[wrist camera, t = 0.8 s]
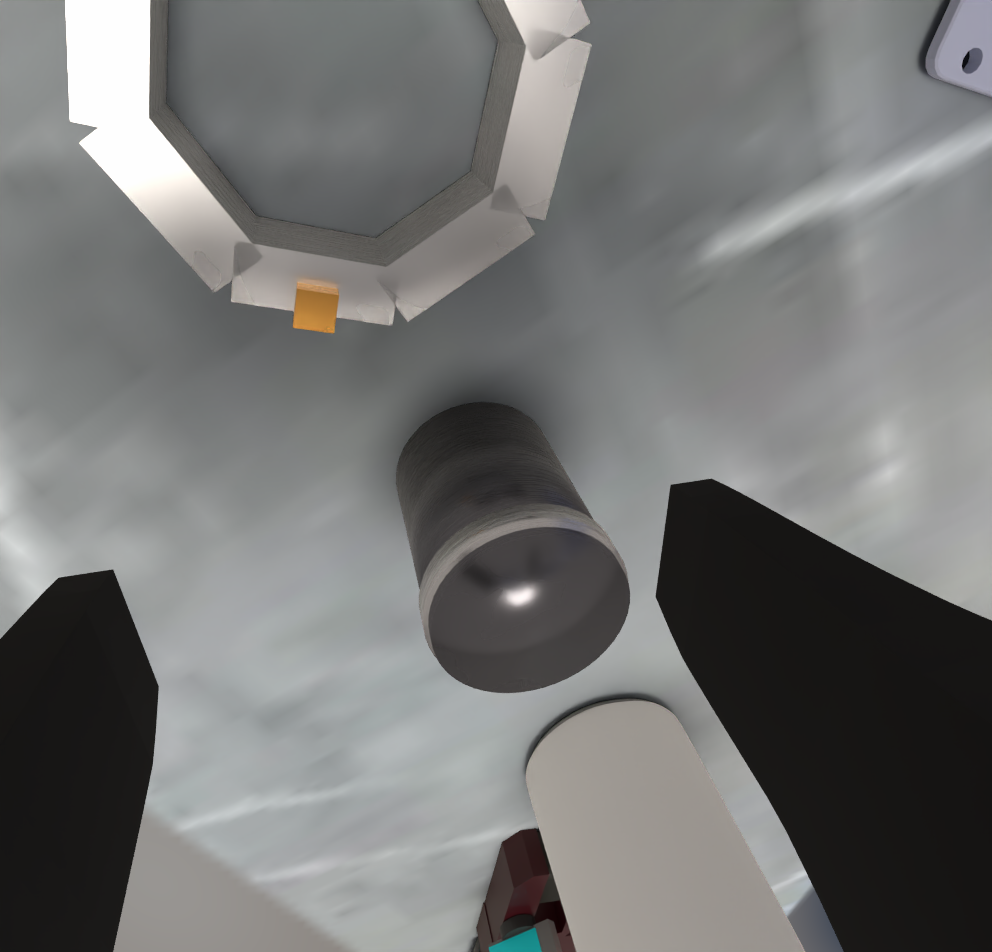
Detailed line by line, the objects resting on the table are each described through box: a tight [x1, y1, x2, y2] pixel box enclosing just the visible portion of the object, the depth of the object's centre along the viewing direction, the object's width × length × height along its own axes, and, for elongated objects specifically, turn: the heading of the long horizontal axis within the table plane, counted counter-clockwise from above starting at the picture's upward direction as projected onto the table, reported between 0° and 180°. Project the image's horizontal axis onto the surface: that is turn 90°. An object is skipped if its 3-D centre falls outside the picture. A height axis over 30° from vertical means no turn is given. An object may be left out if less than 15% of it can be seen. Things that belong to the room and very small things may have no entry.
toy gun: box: [473, 829, 576, 952], centre depth 33 cm, size 10×12×5 cm
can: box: [526, 698, 805, 952], centre depth 24 cm, size 6×6×12 cm
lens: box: [396, 402, 630, 693], centre depth 18 cm, size 5×5×6 cm
